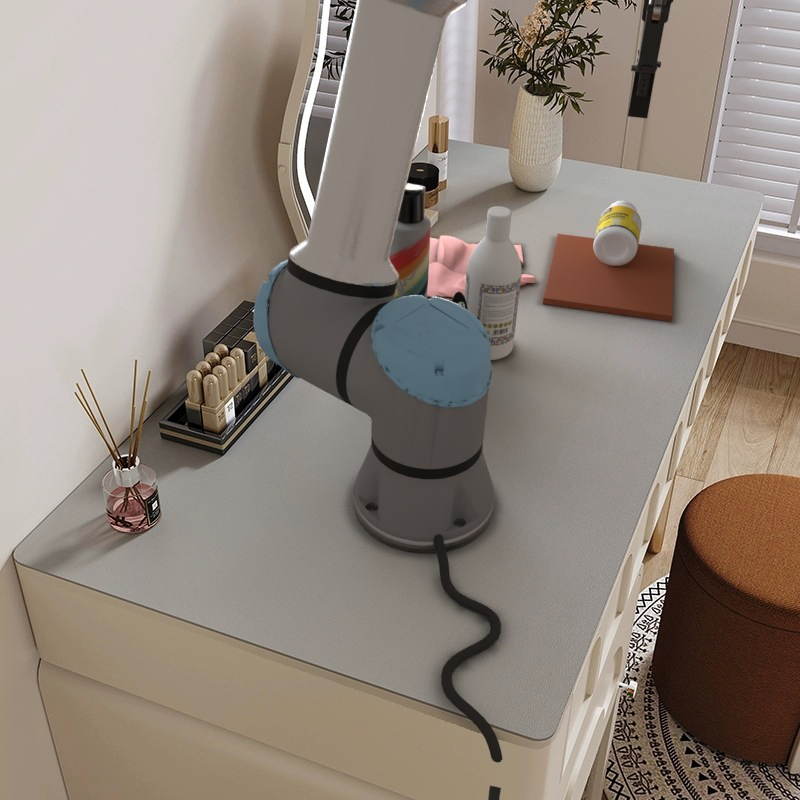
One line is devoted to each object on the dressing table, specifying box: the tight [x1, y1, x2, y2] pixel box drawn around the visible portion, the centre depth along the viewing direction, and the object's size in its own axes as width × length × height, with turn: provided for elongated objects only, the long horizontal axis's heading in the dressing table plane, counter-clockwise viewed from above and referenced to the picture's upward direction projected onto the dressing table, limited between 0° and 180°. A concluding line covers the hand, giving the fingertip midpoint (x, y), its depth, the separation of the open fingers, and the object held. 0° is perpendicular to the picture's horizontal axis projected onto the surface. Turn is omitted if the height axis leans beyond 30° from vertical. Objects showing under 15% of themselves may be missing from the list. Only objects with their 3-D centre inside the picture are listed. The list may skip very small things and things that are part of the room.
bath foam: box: [464, 205, 523, 361], centre depth 131 cm, size 7×7×20 cm
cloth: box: [427, 235, 536, 299], centre depth 153 cm, size 20×22×2 cm
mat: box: [542, 233, 675, 323], centre depth 152 cm, size 20×18×1 cm
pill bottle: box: [593, 200, 643, 266], centre depth 155 cm, size 6×6×12 cm
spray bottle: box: [389, 182, 432, 299], centre depth 136 cm, size 6×6×20 cm
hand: (637, 115), depth 144 cm, fingers closed
